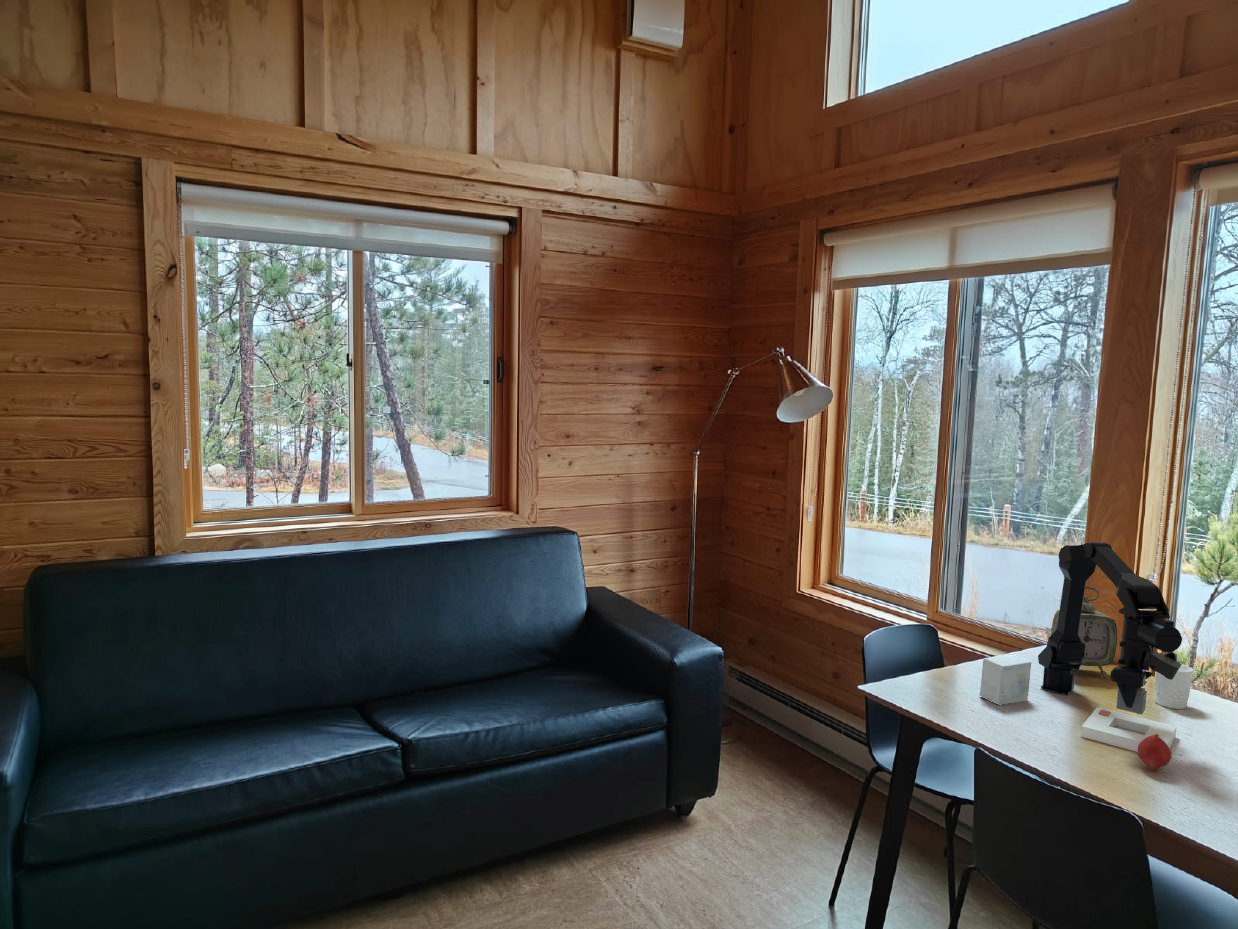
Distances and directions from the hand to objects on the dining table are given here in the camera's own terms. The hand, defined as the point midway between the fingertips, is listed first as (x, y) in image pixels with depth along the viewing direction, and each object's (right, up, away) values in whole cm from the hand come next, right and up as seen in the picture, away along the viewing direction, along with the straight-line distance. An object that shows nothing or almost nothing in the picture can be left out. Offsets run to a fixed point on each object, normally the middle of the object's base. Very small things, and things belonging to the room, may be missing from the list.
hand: (1130, 704), depth 185 cm
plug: (0, -1, 0) cm, 1 cm away
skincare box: (-19, -5, +22) cm, 29 cm away
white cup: (+24, -7, +22) cm, 33 cm away
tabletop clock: (+13, -4, +45) cm, 47 cm away
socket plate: (0, -8, +1) cm, 8 cm away
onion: (-6, -9, -16) cm, 19 cm away
